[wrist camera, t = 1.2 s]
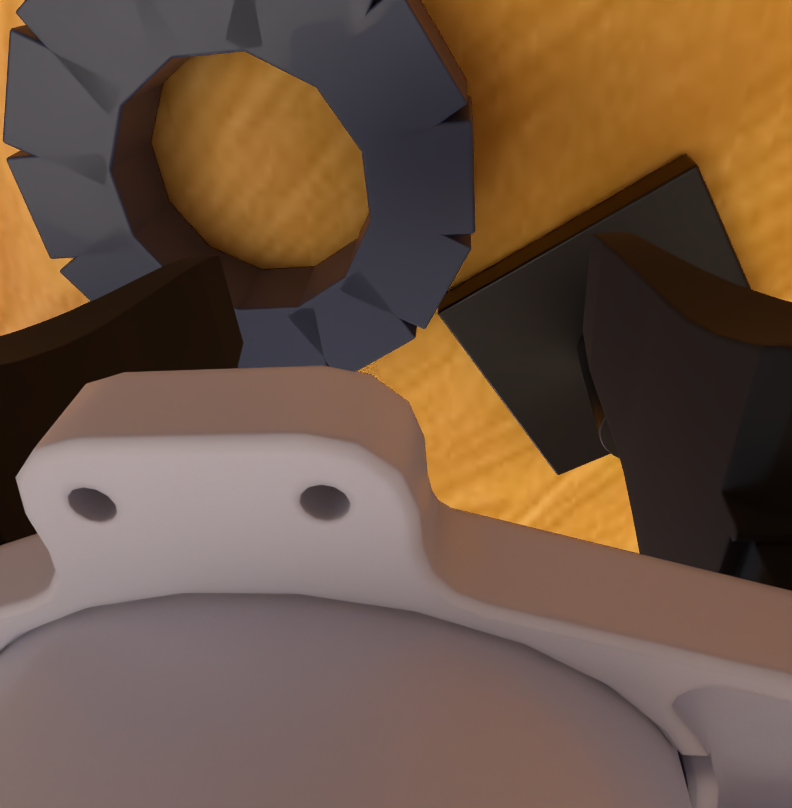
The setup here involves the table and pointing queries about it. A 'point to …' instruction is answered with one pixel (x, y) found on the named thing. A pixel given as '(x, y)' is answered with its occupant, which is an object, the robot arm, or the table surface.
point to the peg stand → (576, 308)
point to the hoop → (167, 229)
